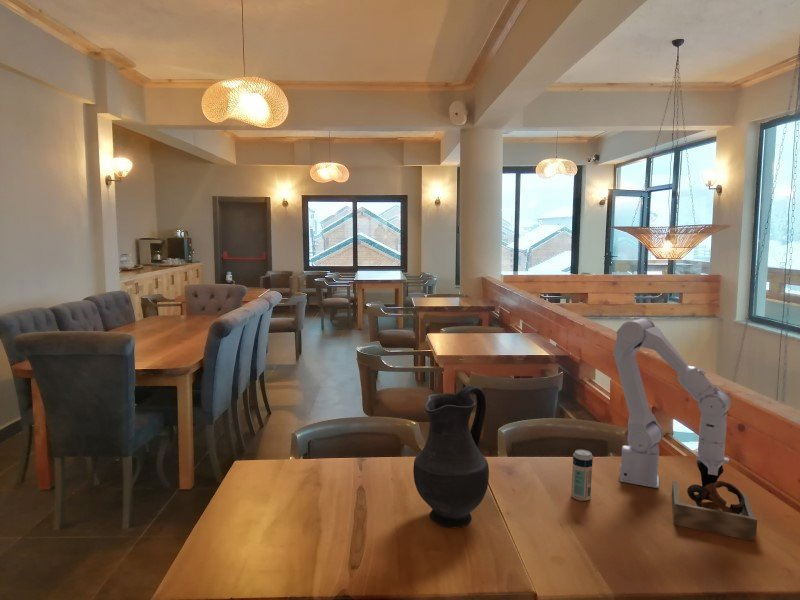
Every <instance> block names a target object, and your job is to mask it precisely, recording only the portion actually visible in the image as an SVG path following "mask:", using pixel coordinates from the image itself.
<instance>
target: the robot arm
mask: <svg viewBox="0 0 800 600" xmlns="http://www.w3.org/2000/svg"><path fill="white" fill-rule="evenodd" d="M641 348H642V349H643V348H645V349H648V350H654V351H655V353H657V354H658V355H659V356H660V357H661V358H662V359H663V360H664V361H665V362H666V363H667V364H668V366H670V367H671V368H672V370H674V371H675V372H676V373H677V381H678V382H679V384H681V386H682V387H683V388H684V389H685V390H686V392H688V394H689V395H690V396H691V397H692V398H693V399H694V400H695V401H696V402H697V404H698V405H697V407H698V410H699V412H700V420H699V421H700V422H699V432H698V444H697V452H696V458H697V460H696V464H697V465H696V466H697V468H698V470H699V473H700V481H701V486H703V487H704V486H706V485H707V484H710V483H715V482H717V481H719V480H718V479H719V478H720V476H721V475H722V474H723V472H724V468H723V465H724V463H727V464H729V463H730V458H729V457H726V456H725V449H726V438H727V437H726V436H727V426H728V424H727V420H728V419H727V418H728V413H727V412H728V411H729V410H730V408H731V405H732V401H731V398H730V396H729V395H728V393H727V392H726V391H724V390H721V389H720V387H719V386H717V385H716V386H715V385H714V383H713V382H712V381H711V380H710V379H709V377H707V376H706V375H705V374H706V371H705V370H704V369H702V368H701V369H700V368H699V367H698V366H693V365H689V363H688V362H687V361H686V360H685V359H684V357H683V356H682V355H681V354H680V353H679V351H678V350H677V349H676V348H675V347H674V346H673V344H672V343H671V342H670V341H669V339H667V337H666V336H665V335H664V333H663V332H662V329H660V327H659V326H656V325H655V323H654V322H653V321H652V320H651V319H649V318H647V317H640V318H637V319H635V320H629V321H626V322H624V323H622V325H621V326H620V327H619V328H618V329H617V331H616V339H615V343H614V346H613V349H612V353H613V357H614V362H615V365H616V368H617V371H618V376H619V381H620V383H621V388H622V391H623V395H624V399H625V403H626V406H627V412H628V413H629V414H628V415H629V417H628V420H627V421H628V422H627V429H628V432H627V437H626V438H627V443H628V445H622V447H621V459H620V460H621V461H620V465H619V472H620V477H619V481H620V482H623V483H627V484H632V485H638V486H643V487H648V488H655V489H659V487H660V483H659V482H660V480H659V478H660V477H659V475H658V473H659V472H658V470H659V460H660V459H659V458H660V446H659V443H660V442H661V441H662V440H663V438H664V432H663V428H662V427H661V425H660V424H659V422H657V419H656V416H655V415H654V414H653V413H652V411H651V410H650V406H649V402H648V398H647V395H646V390H645V388H644V387H645V386H644V383H643V379H642V376H641V372H640V368H639V365H638V361H637V358H636V355H637V353H638V351H640V349H641Z"/></svg>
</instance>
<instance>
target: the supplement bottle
mask: <svg viewBox="0 0 800 600" xmlns="http://www.w3.org/2000/svg"><path fill="white" fill-rule="evenodd" d="M593 458H594V456H593V454H592V452H591V451H589V450H586V449H582V448H581V449H579V448H578V449H575V451H574V453H572V475H571V489H570V490H571V491H570V496H571V497H572V498H573V499H575V500H577V501H580V502H587V501H588V500H589V501H590V499H591V498H592V497H591V496H592V479H593V478H592V475H593V463H594V462H593V460H594V459H593Z"/></svg>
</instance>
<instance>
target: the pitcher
mask: <svg viewBox="0 0 800 600" xmlns="http://www.w3.org/2000/svg"><path fill="white" fill-rule="evenodd" d="M472 393H473V394H474V395H475V399H476V400H475V399H474V398H473V397H472V395H471V394H472ZM475 408H476V409H475ZM474 409H475V414H474V418H473V422H472V425H471V427H470V425H469V424H470V418H471V415H472V413H473V410H474ZM486 410H487V400H486V395H485V392H484V390H483V389H482V388H480V387H479V386H478V387H477V386H476V385H475V386H474V385H472V384H471V385H470V384H469V385H466V386H465V387H463V388H461V389H460V390H459V391H458V392H456V393H447V392H445V393H442V392H441V393H433V394H430V395H428V396H427V402H426V403H425V405H424V411H425V412H426V413H427V416H428V417H429V420H430V424H429V428H428V436H427V439H426V442H425V444H424V447H423V448H422V450H421V451H420V452H419V453H418V454H417V455H416V456H415V458H414V460H413V481H414V485H415V488H416V490H417V493H418V494H419V497H421V499H422V500H423V501H424V502H425V503H426V505H428V506H429V507H430V508H431V509H432V510H431V511H430V513H429V518H430V521H431V522H433V523H434V524H436V525H438V526H440V527H444V528H460V527H464V526H467V525H468V524H470V523H471V522H472V514H471V513H472V511H474V510H476V508H478V506H479V505H480V504H481V503H482V501H483V499H484V498H485V496H486V493H487V490H488V486H489V480H490V469H489V463H488V459H487V458H486V456H484V455H483V454H482V453H481V452H480V449H479V447H480V439H481V436H482V432H483V426H484V422H485V417H486V412H487V411H486Z"/></svg>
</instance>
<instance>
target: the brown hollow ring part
mask: <svg viewBox="0 0 800 600" xmlns="http://www.w3.org/2000/svg"><path fill="white" fill-rule="evenodd" d="M722 487H725V488H726V489H727V491H728V492H730V493H731V494H733V495H736V496H737V499H738V504H737V503H736V504H733V503H732V504H730V505H729V506H727V501H726V500H725V499H724V498H723V497H721V496H720V494H719V492H718V489H719V488H722ZM686 492H687V495H688V498H690V499H691V501H693V502H695V504H696V506H698V507H702V503H703V501H706V500H707V501H710V502H713V503H715V504H716V505H717V507H719V508H720V509H721V510H722V511H724V512H729V513H734V514H740V515H741V512H742V509H743V505H744V503H745V500H744V497H743V495H742V493H743V492H741V491H740V490H739V489H738V488H737V487H736V486H734V485H733V484H732V483H729V482H725V481H722V480H717V482H715V483H710V484H707V485H706V486H704V487H703V486H702V485H700V484H691V485H689V486H688V487H687V490H686ZM695 493H697V494H695Z"/></svg>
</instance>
